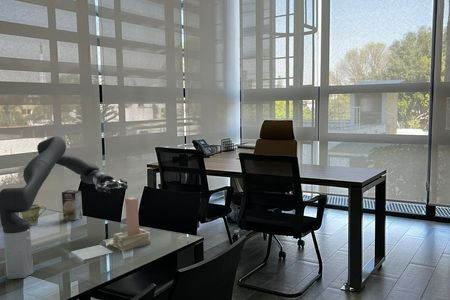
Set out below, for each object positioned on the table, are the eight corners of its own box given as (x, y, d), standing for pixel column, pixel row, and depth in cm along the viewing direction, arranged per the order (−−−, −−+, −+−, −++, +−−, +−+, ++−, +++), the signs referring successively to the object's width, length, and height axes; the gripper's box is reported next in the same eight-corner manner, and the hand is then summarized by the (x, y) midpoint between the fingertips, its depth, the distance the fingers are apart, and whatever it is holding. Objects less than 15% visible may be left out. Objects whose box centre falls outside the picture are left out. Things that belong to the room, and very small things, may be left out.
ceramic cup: (19, 227, 233) (18, 209, 233) (22, 222, 243) (21, 205, 242) (45, 224, 237) (44, 206, 236) (47, 220, 247) (46, 203, 246)
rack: (150, 246, 193) (150, 232, 192) (121, 253, 184) (121, 239, 183) (130, 237, 208) (129, 223, 207) (102, 243, 199) (101, 229, 199)
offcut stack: (129, 245, 190) (129, 235, 189) (121, 247, 187) (120, 237, 187) (121, 241, 196) (120, 232, 196) (113, 243, 193) (112, 233, 193)
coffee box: (62, 219, 246) (60, 192, 245) (69, 217, 253) (67, 190, 251) (76, 220, 244) (74, 192, 242) (83, 217, 250) (81, 190, 249)
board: (139, 242, 194) (137, 198, 192) (133, 243, 192) (131, 199, 190) (133, 239, 199) (131, 196, 197) (127, 241, 197) (125, 197, 195)
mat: (113, 255, 182) (113, 252, 182) (83, 263, 174) (83, 259, 174) (100, 248, 193) (99, 244, 193) (71, 254, 185) (70, 251, 185)
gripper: (89, 176, 208) (103, 184, 196) (116, 171, 217) (131, 178, 205) (90, 191, 210) (104, 200, 198) (117, 185, 219) (132, 193, 207)
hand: (118, 189), depth 201 cm, fingers open, 8 cm apart
